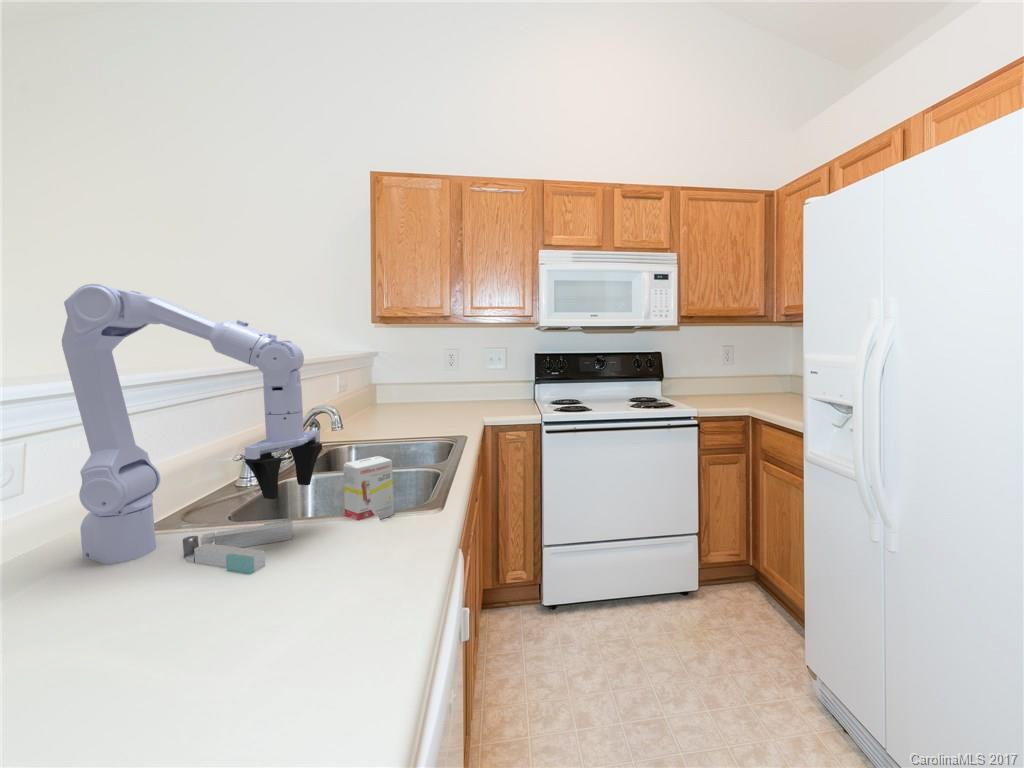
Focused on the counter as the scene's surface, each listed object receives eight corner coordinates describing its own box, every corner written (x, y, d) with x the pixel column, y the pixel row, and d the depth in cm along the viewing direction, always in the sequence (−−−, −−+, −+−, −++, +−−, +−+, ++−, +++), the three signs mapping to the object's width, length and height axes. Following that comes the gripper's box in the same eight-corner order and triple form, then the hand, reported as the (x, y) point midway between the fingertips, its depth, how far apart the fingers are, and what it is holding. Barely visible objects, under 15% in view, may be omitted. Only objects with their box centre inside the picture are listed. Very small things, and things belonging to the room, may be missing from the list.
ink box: (358, 528, 86) (355, 467, 85) (344, 522, 89) (341, 463, 88) (395, 515, 92) (393, 458, 92) (381, 510, 96) (379, 455, 95)
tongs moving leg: (201, 553, 73) (200, 538, 72) (205, 546, 75) (204, 532, 75) (291, 539, 78) (291, 525, 77) (292, 533, 80) (292, 520, 80)
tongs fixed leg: (170, 563, 70) (168, 544, 70) (192, 552, 73) (191, 535, 73) (250, 575, 66) (249, 555, 65) (270, 563, 69) (269, 544, 69)
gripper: (268, 419, 68) (273, 507, 69) (332, 407, 82) (335, 480, 83) (232, 418, 70) (237, 503, 71) (300, 406, 84) (304, 478, 85)
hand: (288, 491), depth 77 cm, fingers open, 7 cm apart
